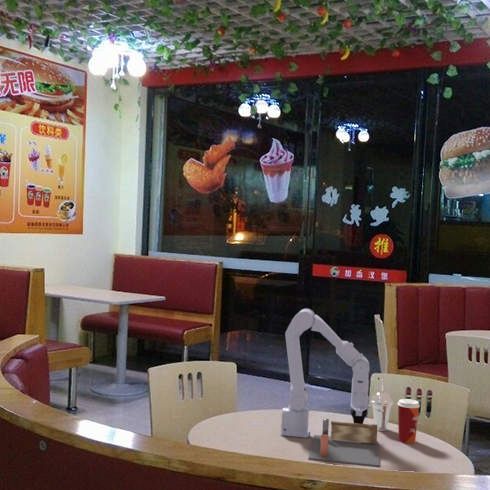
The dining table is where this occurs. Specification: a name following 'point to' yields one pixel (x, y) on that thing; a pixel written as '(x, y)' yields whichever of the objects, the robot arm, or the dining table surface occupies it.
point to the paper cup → (407, 420)
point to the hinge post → (325, 426)
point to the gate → (354, 432)
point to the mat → (346, 452)
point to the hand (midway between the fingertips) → (358, 430)
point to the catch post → (324, 445)
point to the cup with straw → (381, 408)
